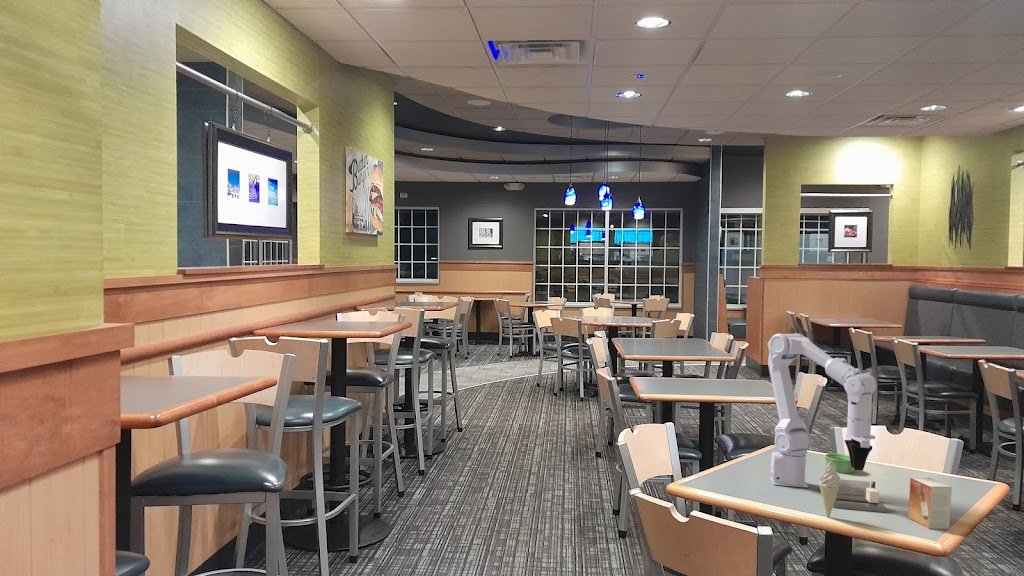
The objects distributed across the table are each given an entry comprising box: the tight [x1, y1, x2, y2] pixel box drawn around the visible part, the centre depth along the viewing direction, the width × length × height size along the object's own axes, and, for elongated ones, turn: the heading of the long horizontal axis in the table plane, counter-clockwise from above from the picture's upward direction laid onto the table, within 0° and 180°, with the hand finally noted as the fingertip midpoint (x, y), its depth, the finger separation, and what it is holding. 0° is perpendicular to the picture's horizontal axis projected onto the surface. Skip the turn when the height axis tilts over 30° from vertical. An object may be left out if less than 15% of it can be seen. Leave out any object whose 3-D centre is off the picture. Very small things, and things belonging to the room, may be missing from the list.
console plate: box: [818, 481, 888, 513], centre depth 196 cm, size 13×18×6 cm
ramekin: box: [824, 453, 855, 474], centre depth 229 cm, size 9×9×4 cm
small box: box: [907, 477, 953, 530], centre depth 179 cm, size 8×6×10 cm
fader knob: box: [866, 487, 880, 503], centre depth 191 cm, size 2×4×3 cm, turn 168°
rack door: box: [838, 478, 871, 494], centre depth 198 cm, size 10×1×3 cm, turn 78°
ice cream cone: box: [818, 459, 841, 518], centre depth 181 cm, size 5×5×15 cm
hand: (857, 468), depth 193 cm, fingers closed
